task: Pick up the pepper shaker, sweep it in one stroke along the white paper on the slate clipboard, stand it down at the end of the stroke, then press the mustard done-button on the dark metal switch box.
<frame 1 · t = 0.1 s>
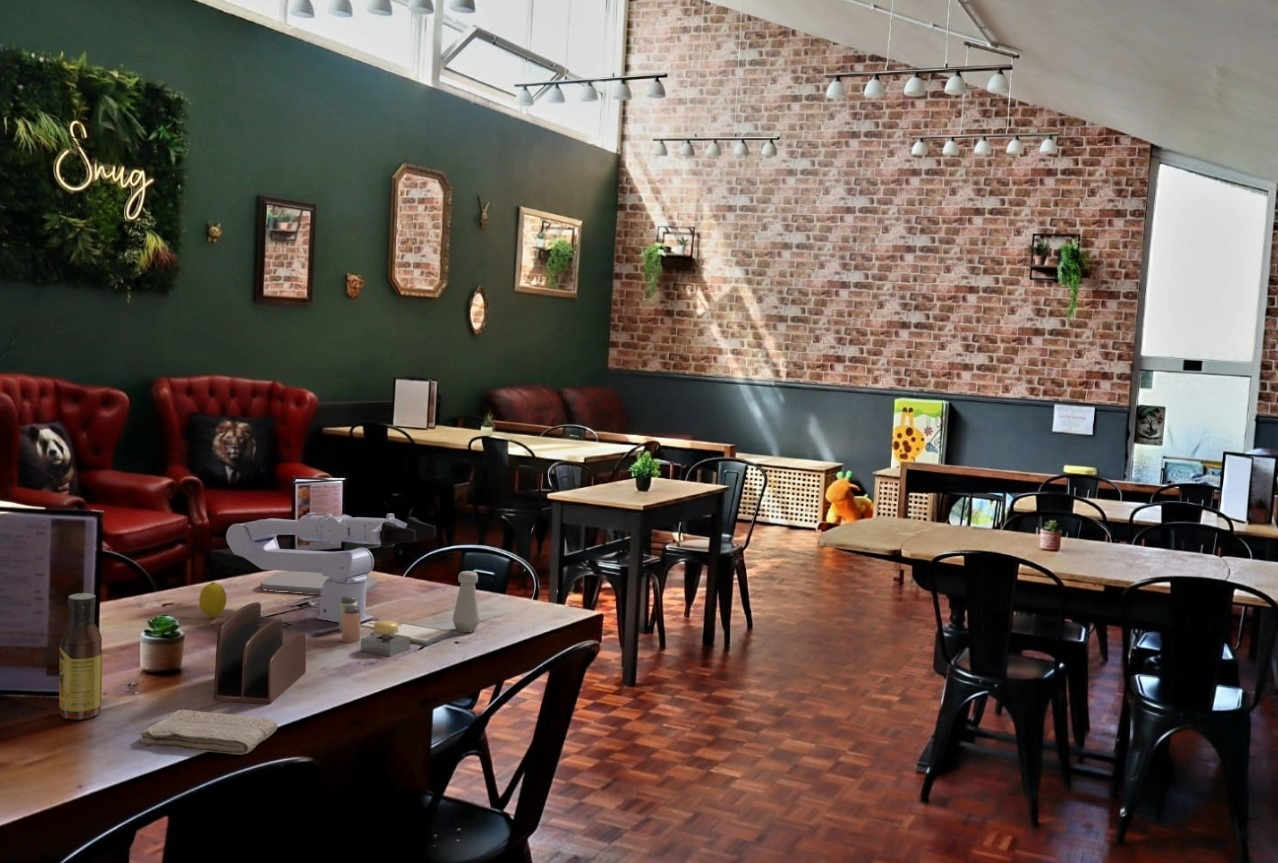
hand: (425, 533, 253), 22 cm above the table, tool horizontal, fingers open, 7 cm apart
done button: (386, 632, 239), point 4 cm above the table, slide at 0.0 cm
salt shaker: (465, 631, 258), on the table
switch box: (385, 649, 239), on the table
clipboard: (413, 635, 252), on the table
sauce bottle: (80, 716, 190), on the table
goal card: (375, 625, 258), on the table
green spice jar: (347, 629, 253), on the table
pepper shaker: (350, 640, 245), on the table
letter holder: (261, 688, 211), on the table
lemon: (212, 619, 256), on the table
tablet: (319, 590, 292), on the table
washcloth: (209, 741, 184), on the table
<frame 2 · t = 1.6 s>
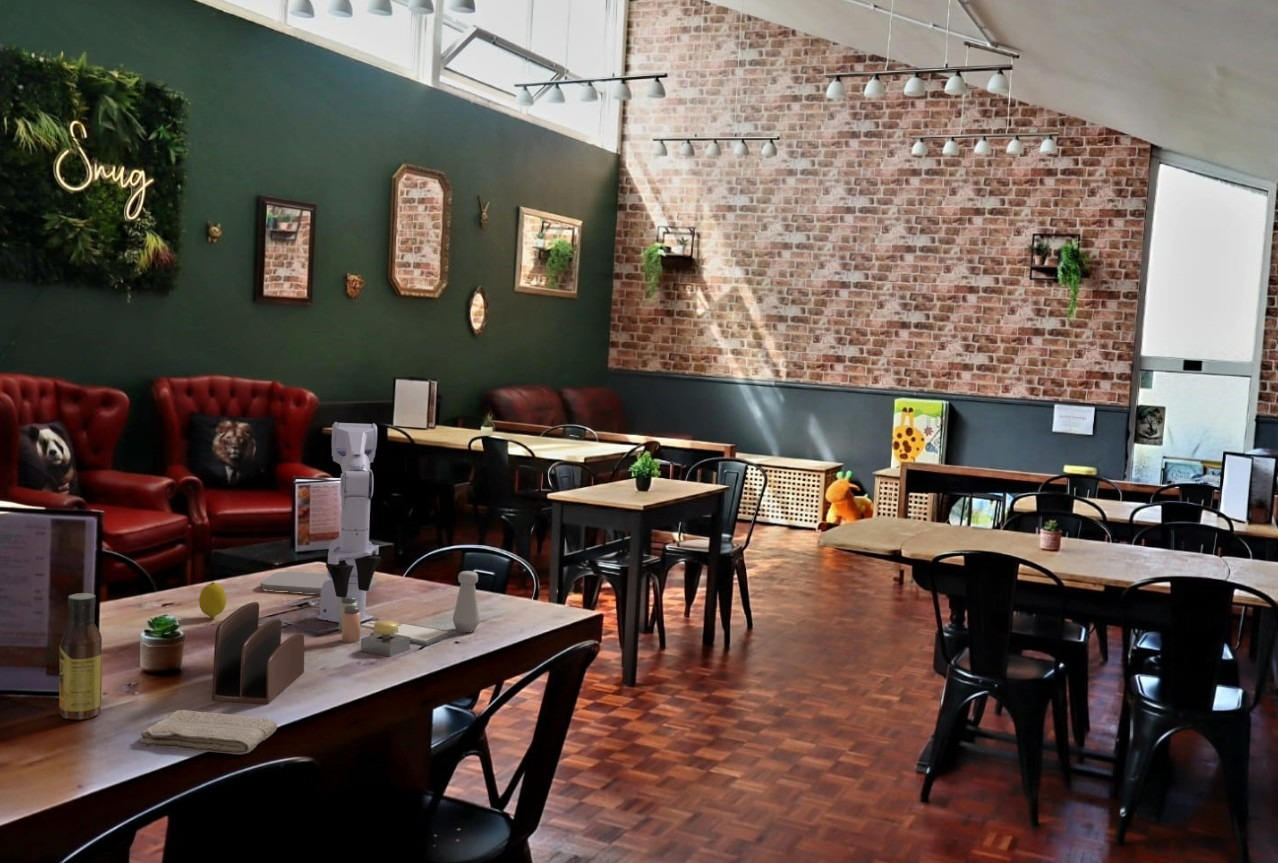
hand: (352, 593, 244), 10 cm above the table, tool pointing down, fingers open, 7 cm apart
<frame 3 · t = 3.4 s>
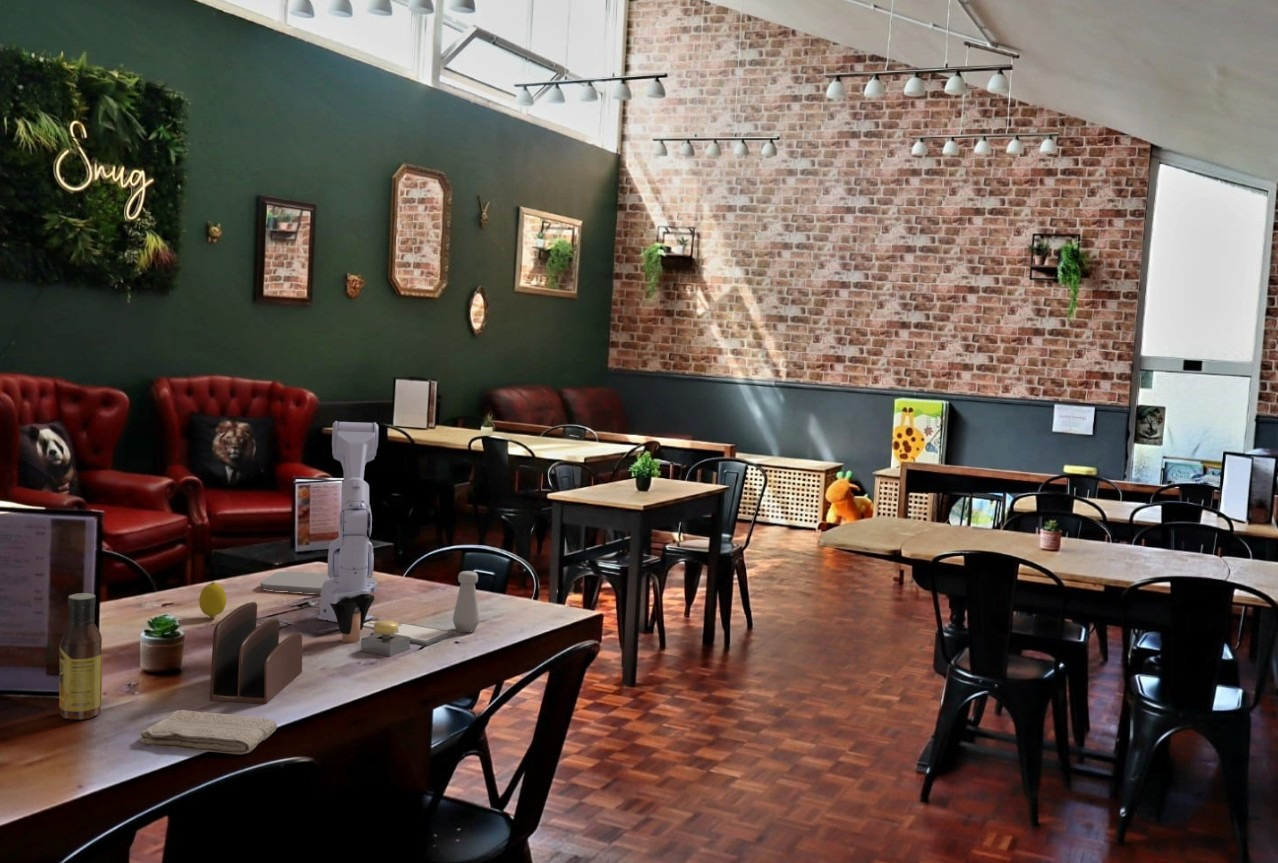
hand: (351, 631, 244), 2 cm above the table, tool pointing down, fingers closed on pepper shaker, 4 cm apart
pepper shaker: (350, 640, 245), on the table, touching gripper
when the fingers open (4 cm above the table, at t = 7.7 s): pepper shaker stays where it is, resting on clipboard.
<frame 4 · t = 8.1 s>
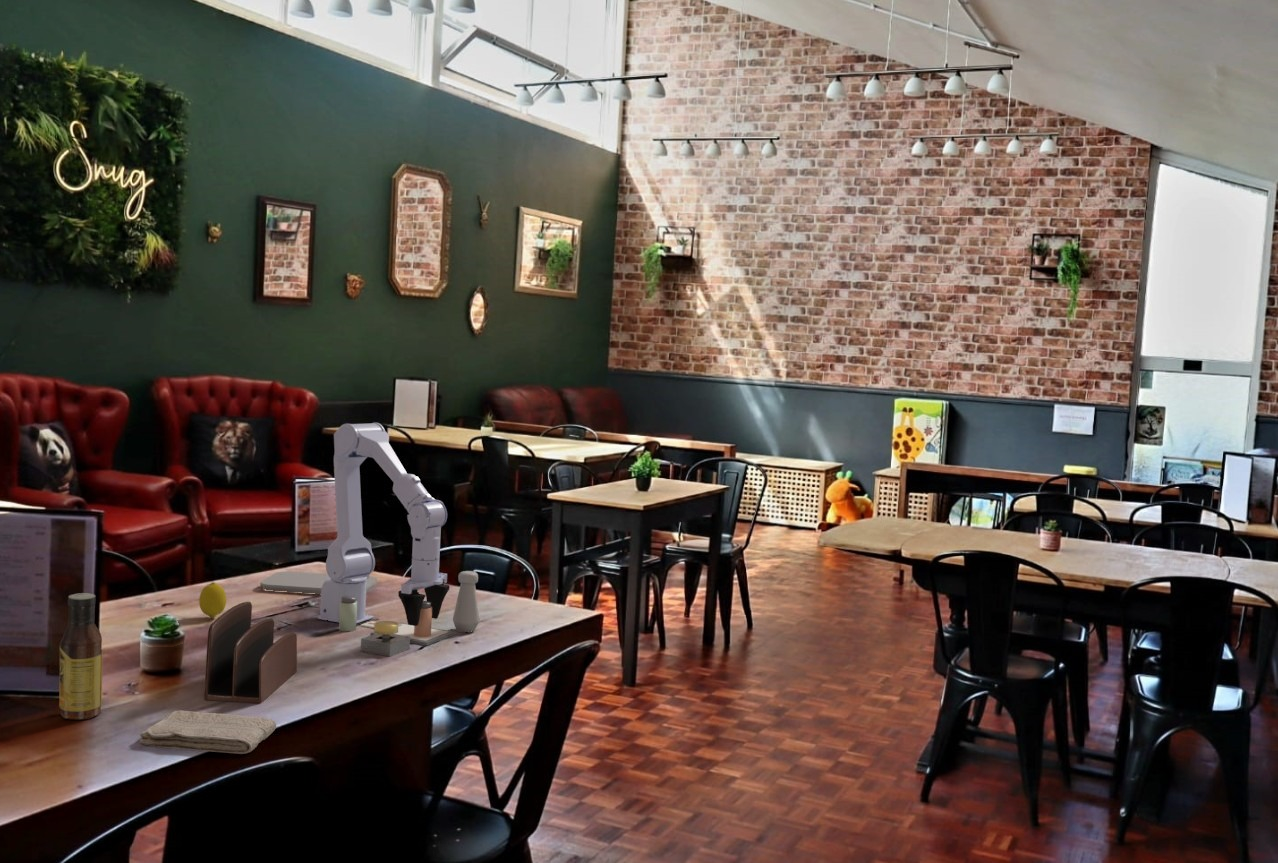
hand: (423, 621, 249), 4 cm above the table, tool pointing down, fingers open, 7 cm apart
pepper shaker: (422, 634, 250), point 1 cm above the table, touching clipboard
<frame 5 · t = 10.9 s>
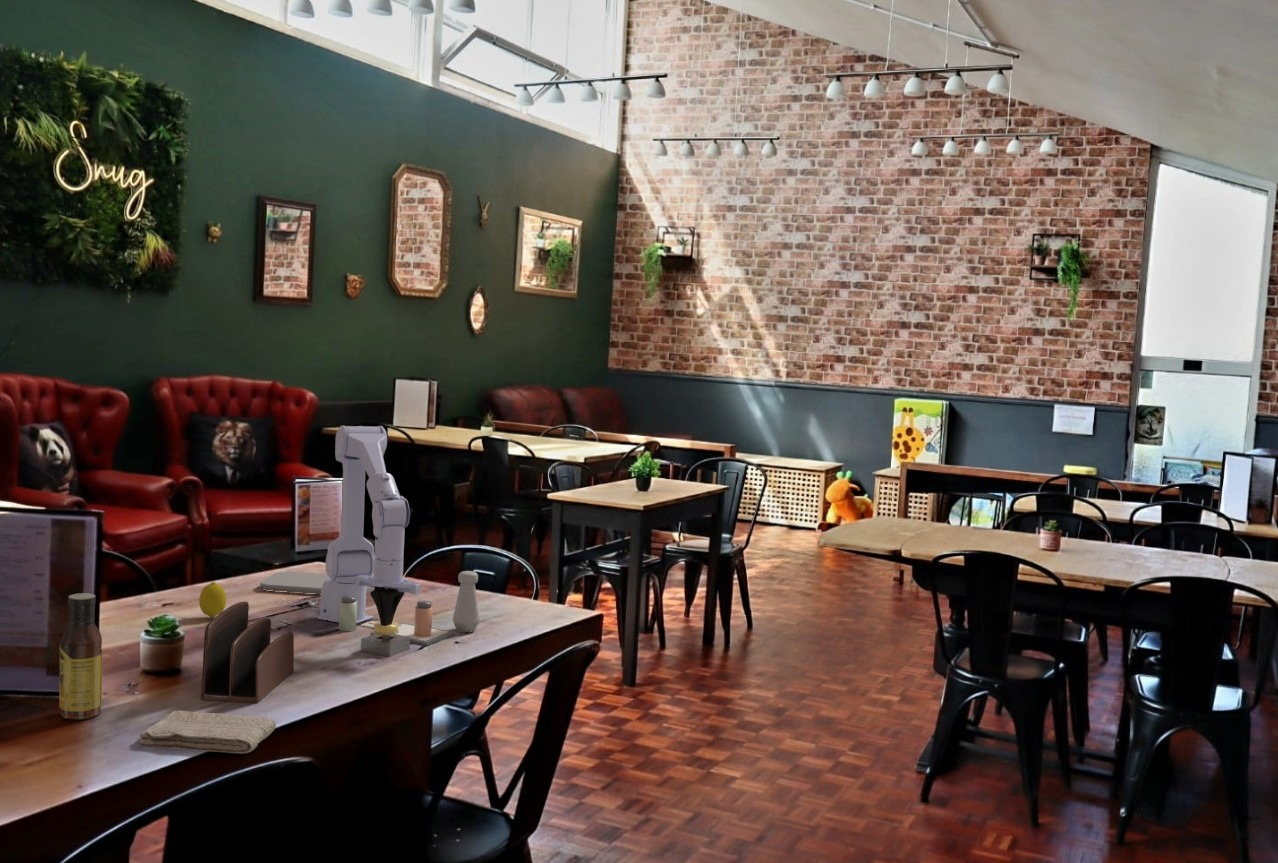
hand: (386, 624, 239), 5 cm above the table, tool pointing down, fingers closed, pressing on done button
done button: (385, 633, 239), point 3 cm above the table, slide at 0.1 cm, touching gripper
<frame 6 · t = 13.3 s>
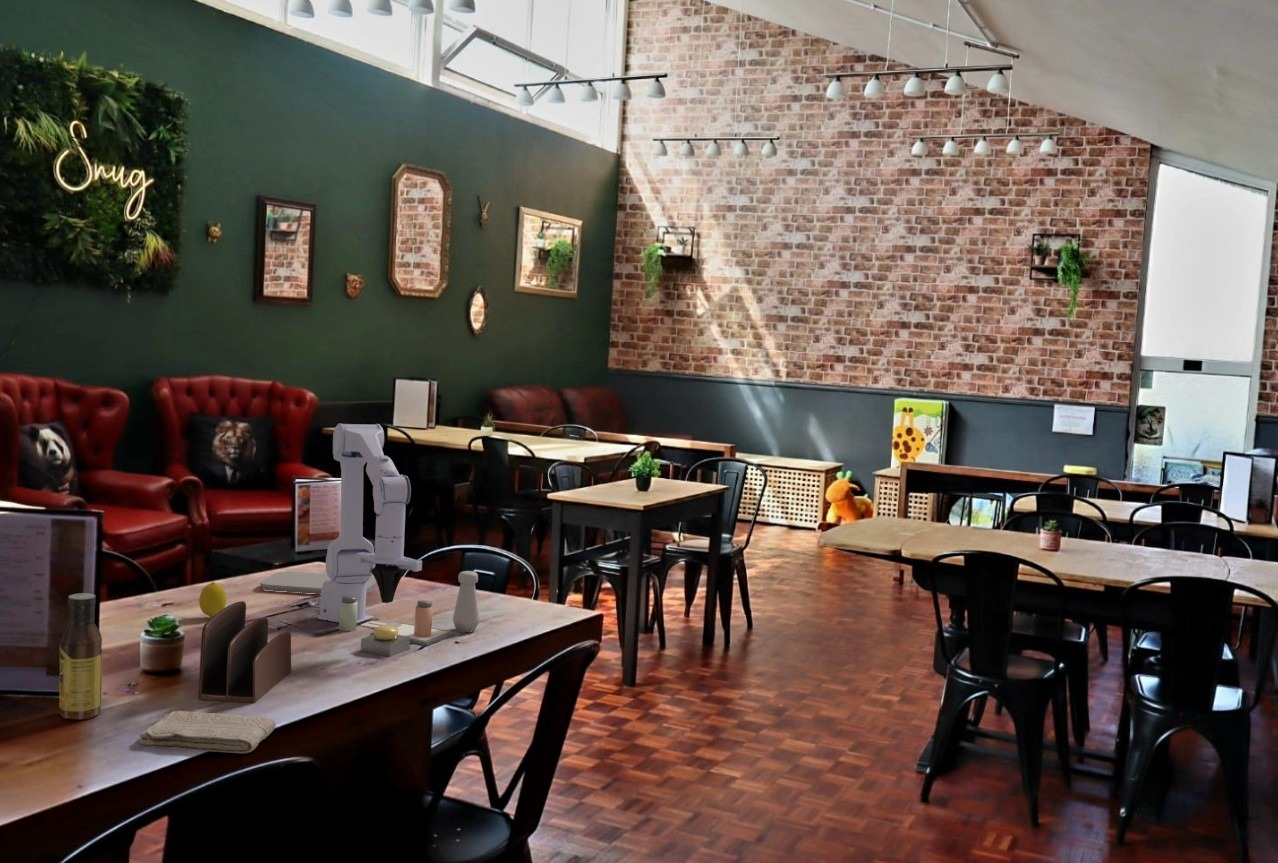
hand: (387, 601, 238), 10 cm above the table, tool pointing down, fingers closed
done button: (385, 637, 239), point 3 cm above the table, slide at 1.0 cm
at the end: pepper shaker inside the target area on the clipboard (3.2 cm from its centre), point 0.8 cm above the clipboard's base; pepper shaker tilted 3°; done button slide at 1.0 cm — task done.
